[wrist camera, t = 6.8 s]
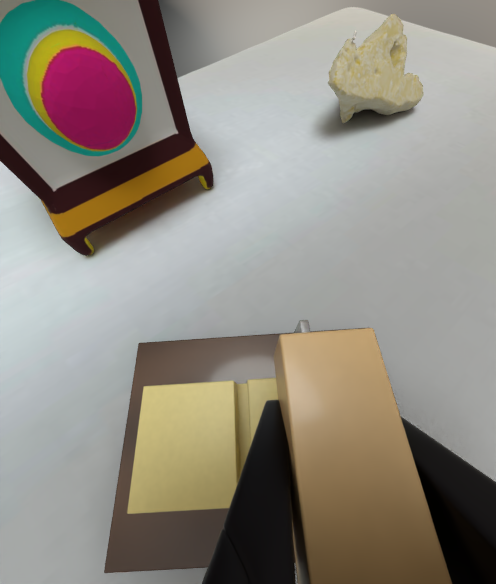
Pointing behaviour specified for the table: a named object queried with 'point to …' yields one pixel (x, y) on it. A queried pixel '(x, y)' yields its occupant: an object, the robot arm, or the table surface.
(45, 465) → the table surface
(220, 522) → the board
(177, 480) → the butter block
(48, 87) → the decorative lantern
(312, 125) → the table surface
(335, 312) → the table surface
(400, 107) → the cream rough rock
